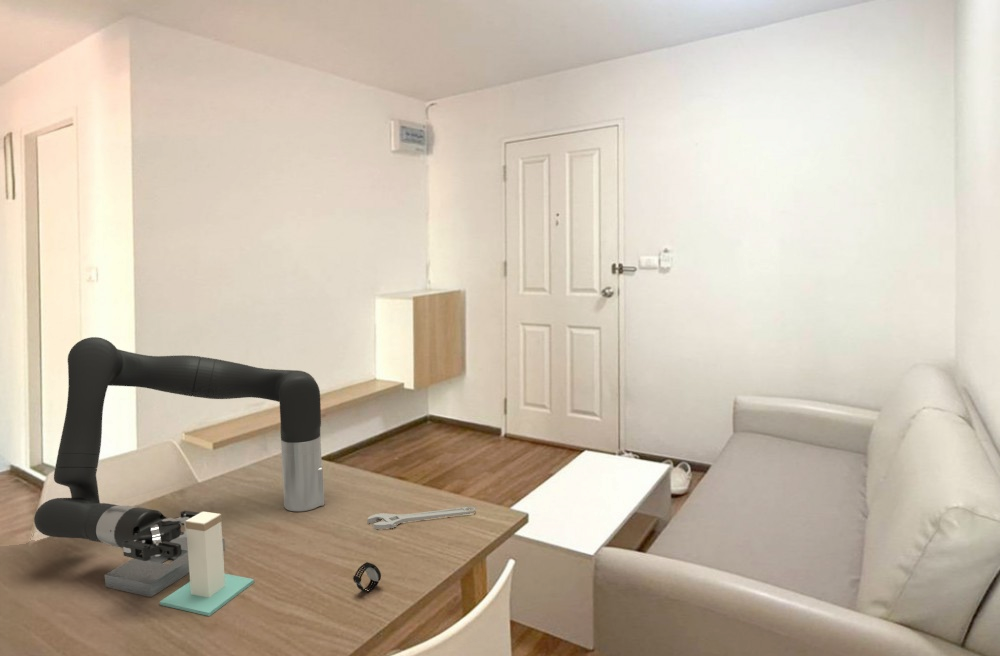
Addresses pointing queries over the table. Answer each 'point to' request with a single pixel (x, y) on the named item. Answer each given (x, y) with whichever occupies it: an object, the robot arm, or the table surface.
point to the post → (205, 554)
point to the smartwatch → (372, 574)
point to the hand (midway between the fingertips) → (199, 539)
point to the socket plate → (150, 572)
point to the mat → (204, 604)
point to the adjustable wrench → (413, 517)
